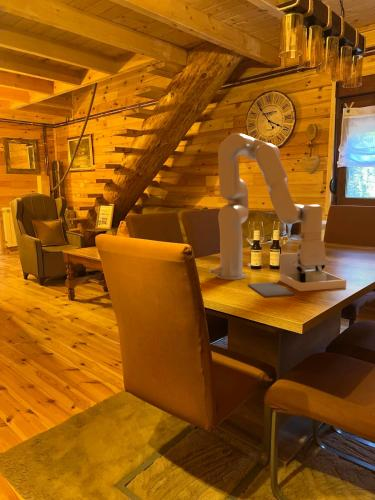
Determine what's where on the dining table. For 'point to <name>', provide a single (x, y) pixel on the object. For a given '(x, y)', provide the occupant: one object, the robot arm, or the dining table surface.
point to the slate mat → (270, 289)
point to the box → (312, 275)
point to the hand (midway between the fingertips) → (309, 281)
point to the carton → (290, 276)
